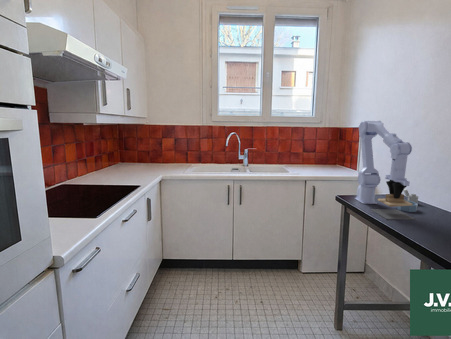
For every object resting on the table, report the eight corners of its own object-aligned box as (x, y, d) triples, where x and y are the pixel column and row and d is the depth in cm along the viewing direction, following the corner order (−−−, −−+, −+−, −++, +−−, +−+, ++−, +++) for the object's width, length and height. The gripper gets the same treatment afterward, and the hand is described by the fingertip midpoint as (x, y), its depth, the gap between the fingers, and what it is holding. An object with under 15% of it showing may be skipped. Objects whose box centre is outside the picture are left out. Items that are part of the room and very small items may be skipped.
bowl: (393, 206, 136) (394, 200, 136) (409, 206, 136) (410, 200, 136) (403, 211, 129) (404, 205, 128) (420, 212, 128) (421, 205, 128)
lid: (377, 200, 129) (378, 192, 128) (398, 199, 128) (398, 191, 128) (390, 206, 119) (390, 198, 118) (412, 205, 119) (413, 196, 118)
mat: (371, 209, 131) (371, 209, 131) (397, 210, 131) (397, 209, 131) (386, 219, 118) (386, 218, 118) (415, 219, 118) (415, 218, 118)
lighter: (415, 203, 142) (417, 189, 141) (417, 204, 141) (419, 189, 139) (401, 202, 144) (403, 188, 142) (402, 203, 142) (404, 189, 141)
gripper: (418, 171, 114) (413, 202, 116) (397, 166, 128) (393, 193, 130) (401, 171, 114) (397, 201, 116) (382, 166, 128) (379, 193, 130)
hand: (394, 197), depth 123 cm, fingers closed on lid, 2 cm apart
